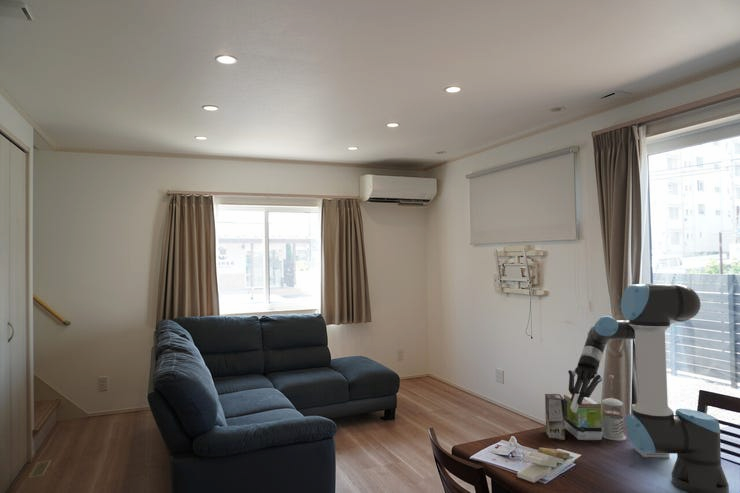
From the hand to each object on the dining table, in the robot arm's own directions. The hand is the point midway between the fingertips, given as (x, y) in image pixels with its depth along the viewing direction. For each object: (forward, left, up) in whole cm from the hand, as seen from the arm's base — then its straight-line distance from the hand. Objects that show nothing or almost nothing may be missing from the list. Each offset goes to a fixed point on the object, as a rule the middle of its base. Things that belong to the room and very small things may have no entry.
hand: (573, 410), depth 184 cm
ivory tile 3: (+8, +23, -14) cm, 28 cm away
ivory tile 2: (+7, +20, -14) cm, 25 cm away
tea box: (-2, -21, -15) cm, 26 cm away
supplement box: (-26, -10, -15) cm, 32 cm away
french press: (-14, -24, -15) cm, 31 cm away
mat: (+6, +16, -15) cm, 22 cm away
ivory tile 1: (+5, +15, -14) cm, 21 cm away
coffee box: (+8, -14, -15) cm, 22 cm away
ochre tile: (+4, +9, -14) cm, 17 cm away
